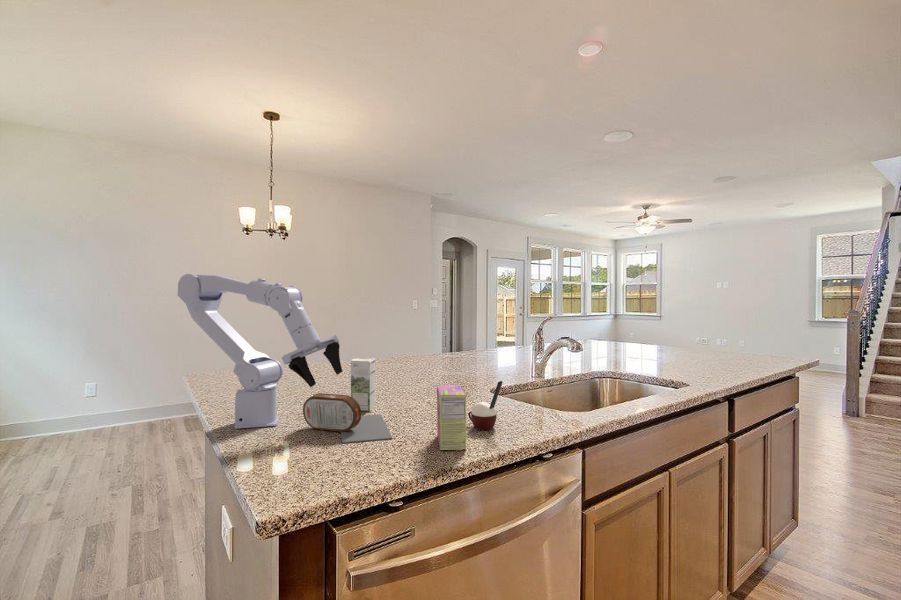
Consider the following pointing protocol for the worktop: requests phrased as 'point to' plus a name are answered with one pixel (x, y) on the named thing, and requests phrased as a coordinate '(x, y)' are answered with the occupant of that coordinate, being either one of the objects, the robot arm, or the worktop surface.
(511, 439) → the worktop surface
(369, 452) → the worktop surface
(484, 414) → the cocoa
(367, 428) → the mat
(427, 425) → the worktop surface
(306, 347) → the robot arm
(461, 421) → the box
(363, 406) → the syrup box
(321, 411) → the tin
